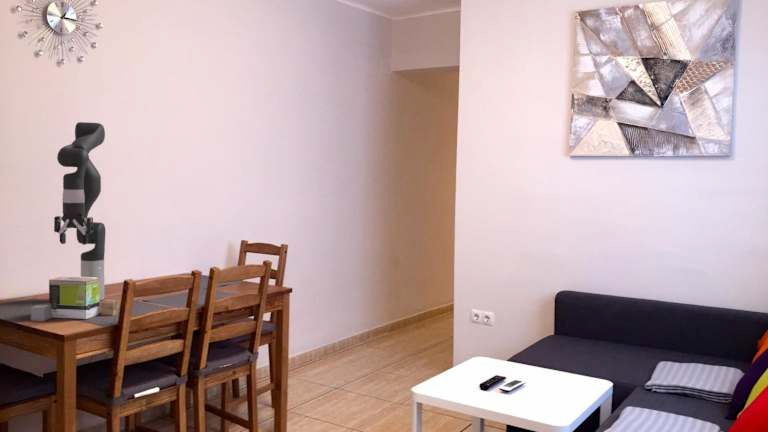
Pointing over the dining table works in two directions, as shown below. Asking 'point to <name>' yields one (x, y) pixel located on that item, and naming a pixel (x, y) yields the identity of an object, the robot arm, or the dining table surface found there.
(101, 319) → the dining table surface
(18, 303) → the dining table surface
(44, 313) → the slate block
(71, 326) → the dining table surface
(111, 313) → the brown box
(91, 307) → the tea box
